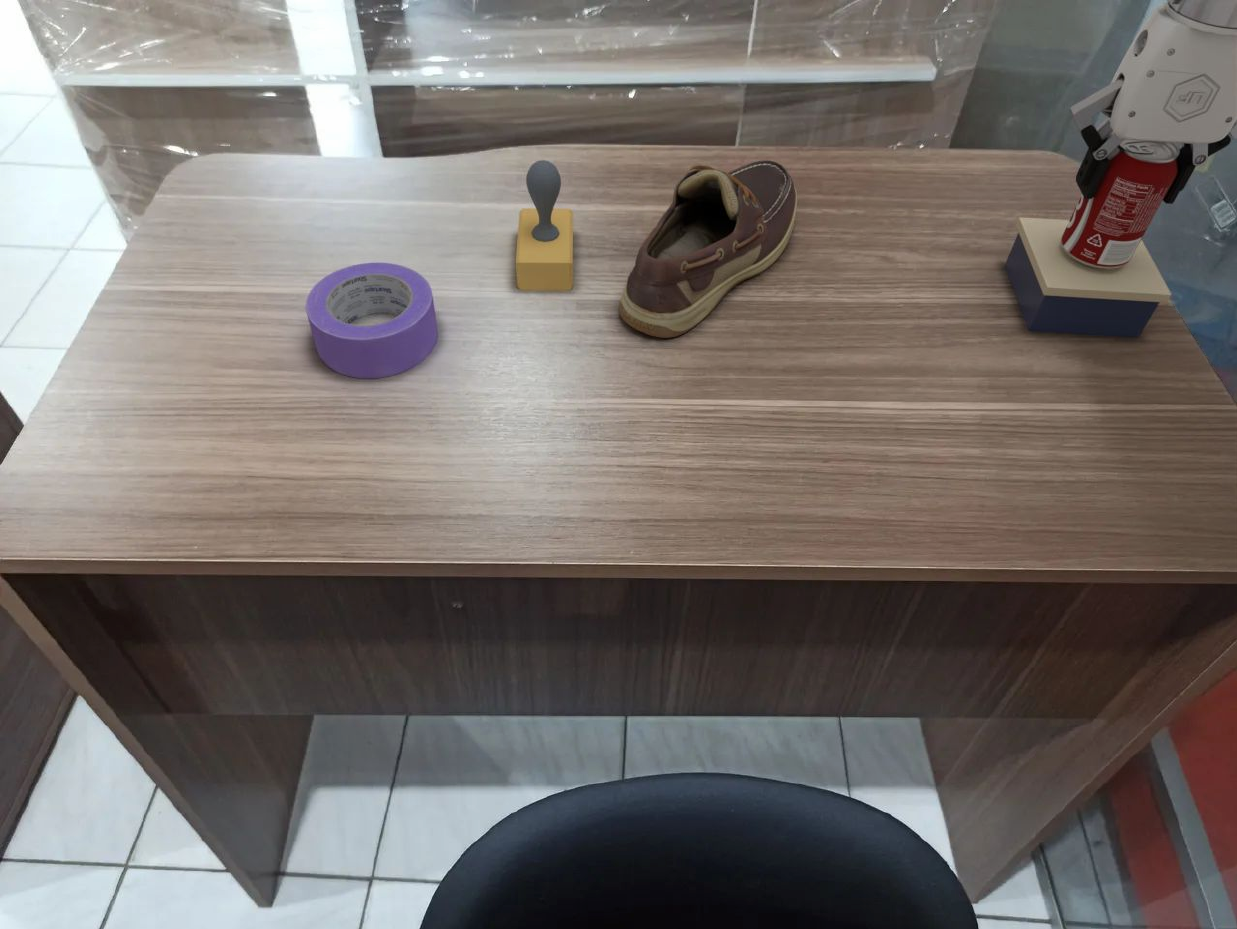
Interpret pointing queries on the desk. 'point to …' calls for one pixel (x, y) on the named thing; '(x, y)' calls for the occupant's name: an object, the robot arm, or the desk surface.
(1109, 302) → the navy box with lid
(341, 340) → the tape roll
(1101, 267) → the soda can
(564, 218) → the rubber stamp
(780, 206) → the boat shoe
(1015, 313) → the desk surface
